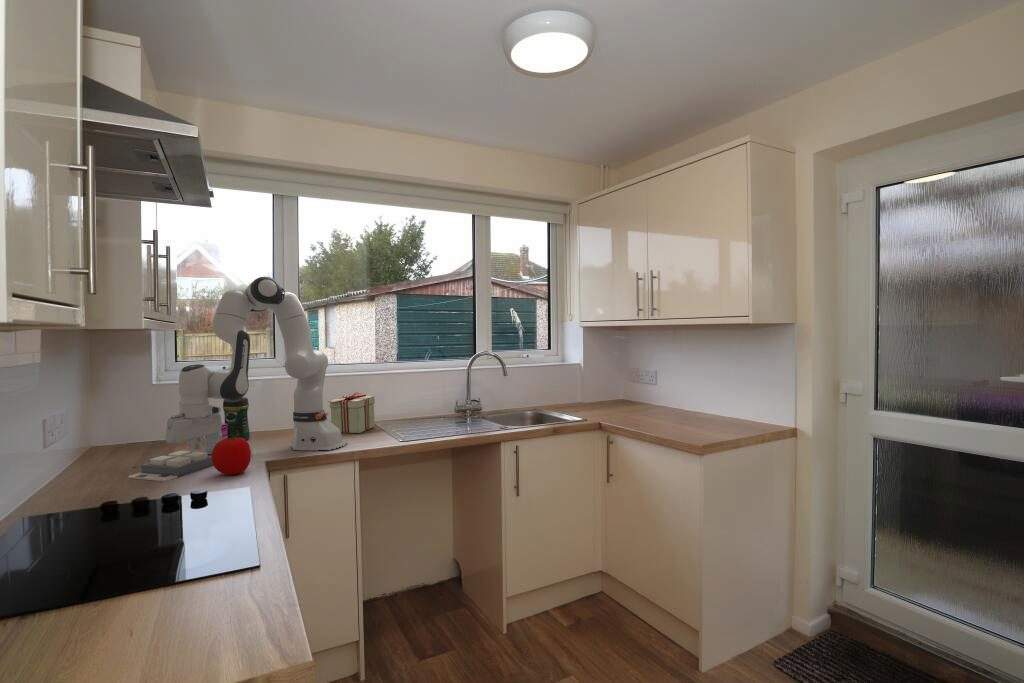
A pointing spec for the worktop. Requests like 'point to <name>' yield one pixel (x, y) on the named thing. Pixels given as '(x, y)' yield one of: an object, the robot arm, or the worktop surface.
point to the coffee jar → (237, 418)
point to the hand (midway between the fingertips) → (195, 450)
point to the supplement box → (215, 439)
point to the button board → (170, 470)
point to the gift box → (353, 413)
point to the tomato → (231, 455)
